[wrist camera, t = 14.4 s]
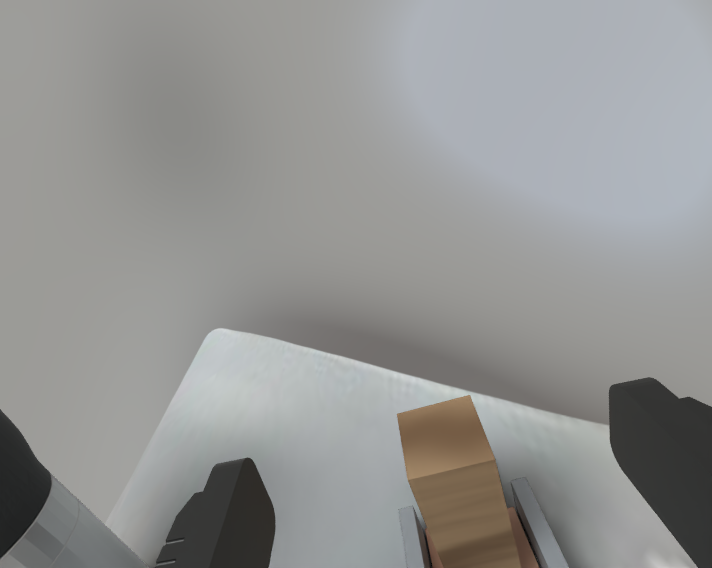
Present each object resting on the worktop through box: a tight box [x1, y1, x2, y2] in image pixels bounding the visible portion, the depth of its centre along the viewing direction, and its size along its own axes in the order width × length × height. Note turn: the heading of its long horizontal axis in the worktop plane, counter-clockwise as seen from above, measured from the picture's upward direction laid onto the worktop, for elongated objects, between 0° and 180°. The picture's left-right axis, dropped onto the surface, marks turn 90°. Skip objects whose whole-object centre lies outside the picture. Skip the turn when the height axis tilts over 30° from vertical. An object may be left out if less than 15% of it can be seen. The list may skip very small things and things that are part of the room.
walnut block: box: [397, 395, 521, 568], centre depth 28 cm, size 5×5×14 cm
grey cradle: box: [398, 477, 569, 568], centre depth 29 cm, size 9×10×4 cm
